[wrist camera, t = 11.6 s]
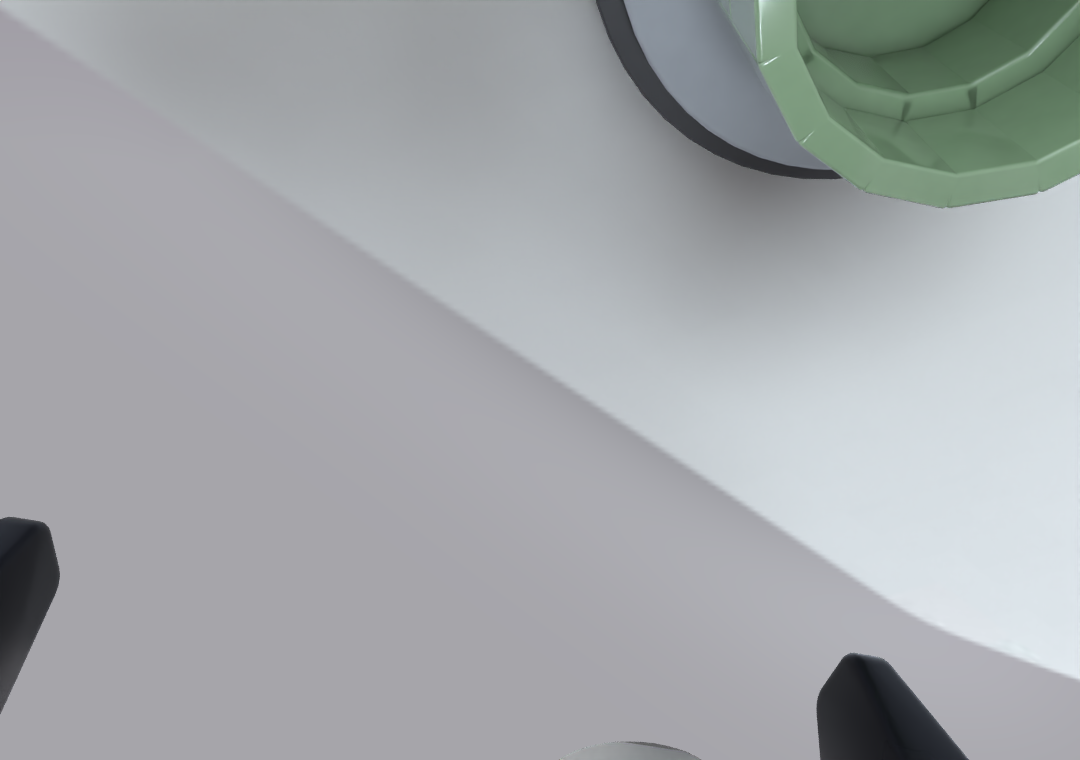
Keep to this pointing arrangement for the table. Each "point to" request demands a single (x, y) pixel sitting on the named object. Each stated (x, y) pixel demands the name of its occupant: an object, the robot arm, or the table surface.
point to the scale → (704, 83)
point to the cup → (924, 91)
